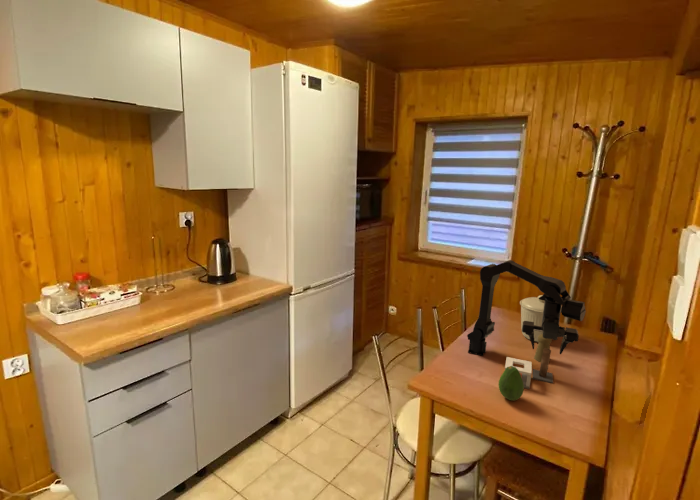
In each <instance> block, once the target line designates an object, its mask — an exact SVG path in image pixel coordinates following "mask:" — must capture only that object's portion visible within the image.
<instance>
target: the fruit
mask: <svg viewBox="0 0 700 500" xmlns="http://www.w3.org/2000/svg"><path fill="white" fill-rule="evenodd" d="M513 366H514V365H513ZM513 366H510V367H507V368H506V369H505V368H504V371H503V372H502V373H501V375H500V378H499V380H498V390H499V392H500V395H502V397H503V398H505V399H507V400H509V401H517V400H519V399H520V398H521V397H522V395H523V393H524V389H525V388H524V385H523V381H522V378H521V375H520V373H519V371H518V370H517V368H516V367H517V366H515V367H513Z"/></svg>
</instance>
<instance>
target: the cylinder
mask: <svg viewBox="0 0 700 500" xmlns="http://www.w3.org/2000/svg"><path fill="white" fill-rule="evenodd" d="M551 354H552V350H551V348H550V349H547V348H544V349H543V355H542V360H541V362H540V365H539V370H540V371H539V376H541V377H546V375H547V372H548V371H549V370H548V369H549V363H550V362H549V359H550V360H551Z"/></svg>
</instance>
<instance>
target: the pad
mask: <svg viewBox="0 0 700 500" xmlns="http://www.w3.org/2000/svg"><path fill="white" fill-rule="evenodd" d="M539 371H540V369H534V368H533V369H532V380H536V381H539V382H544V383H549V384H554V378H553V372H550V371H549V372H548V371H547V375H546V377H541V376H539Z"/></svg>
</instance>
